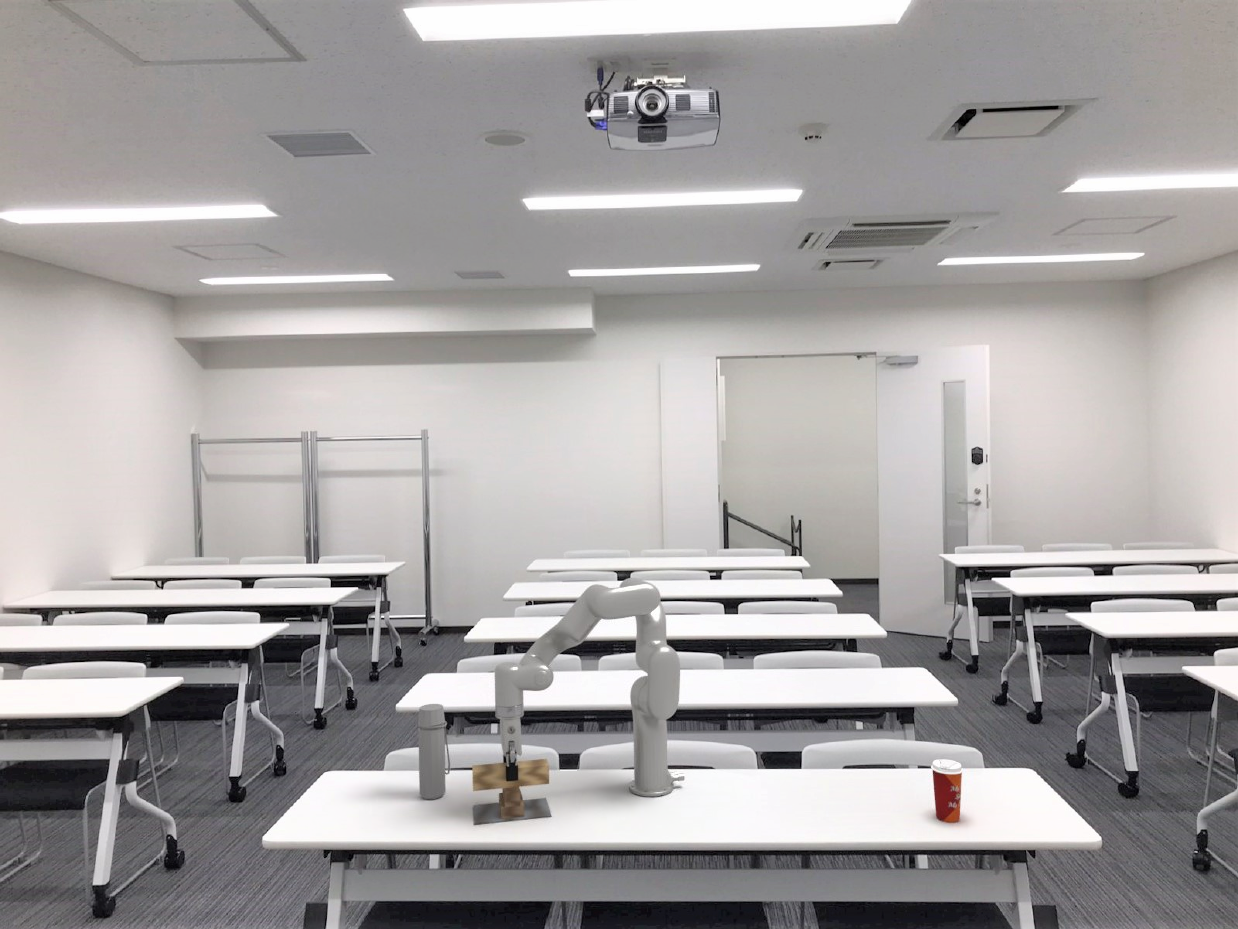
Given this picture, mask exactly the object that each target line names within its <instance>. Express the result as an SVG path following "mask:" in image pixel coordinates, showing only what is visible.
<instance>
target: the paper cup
mask: <svg viewBox="0 0 1238 929" xmlns="http://www.w3.org/2000/svg"><path fill="white" fill-rule="evenodd" d="M930 769H931V770H932V780H933V781H932V782H933V794H934V805H935V815H936V816H935V817H936V819H938V820H939V821H941V822H944V823H951V824H952V823H958V822H960V818H961V799H962V796H961V795H962V777H963V776H962V774H963V772H964V769H963V767H962V764H961V763H960V762H958V761H956V760H953V759H946V758H945V759H944V758H943V759H940V758H939V759H934V760H933V761H932V764H931V766H930Z"/></svg>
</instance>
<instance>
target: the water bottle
mask: <svg viewBox="0 0 1238 929" xmlns="http://www.w3.org/2000/svg"><path fill="white" fill-rule="evenodd" d="M417 725H418V727H417V728H418V730H417V732H418V773H419V774H418V779H419V782H418V783H419V784H418V785H419V796H420V797H421V798H422V799H424V800H437V799H439V798H442V797H443V796H444V795H445V793H446V789H447V788H446V775H449V774H450V772H451V760H450V752H449V745H448V737H447V728H446V727H447V725H448V722H447V721H446V718H445V711H444V705H443V704H440V703H429V704H424V705H420V707H419V712H418V722H417ZM446 754H447V763H448V767H447V772H446Z"/></svg>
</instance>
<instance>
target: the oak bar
mask: <svg viewBox="0 0 1238 929" xmlns="http://www.w3.org/2000/svg"><path fill="white" fill-rule="evenodd" d="M517 765H518V780H517V781H506V766H507V762H506V763H503V762H497V763H487V764H486V763H485V764H476V765H475V764H473V765H472V791H473V792H479V791H489V790H491V791H492V790H500V789H502V788H512V787H519V788H521V787H532V786H541V785H550V764H549V761H548V758H540V759H530V760H520V761H518V760H517Z"/></svg>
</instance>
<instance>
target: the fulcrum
mask: <svg viewBox="0 0 1238 929" xmlns="http://www.w3.org/2000/svg"><path fill="white" fill-rule="evenodd" d="M520 788H521V787H512V788H501V789H502V791H501V792H498V802H489V803H482V804H481V803H480V804H479V803H478V804H472V813H473V814H472V815H473V822H474V826H476V825H477V826H478V825H479V826H480V825H485V824H494V823H495V824H496V823H498V824H499V823H506V822H516V821H525V820H535V819H543V818H552V812H551V808H550V806H549V802H548V800H547V797H541V798H531V799H524V798H523V794H522V791H521V789H520Z"/></svg>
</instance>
